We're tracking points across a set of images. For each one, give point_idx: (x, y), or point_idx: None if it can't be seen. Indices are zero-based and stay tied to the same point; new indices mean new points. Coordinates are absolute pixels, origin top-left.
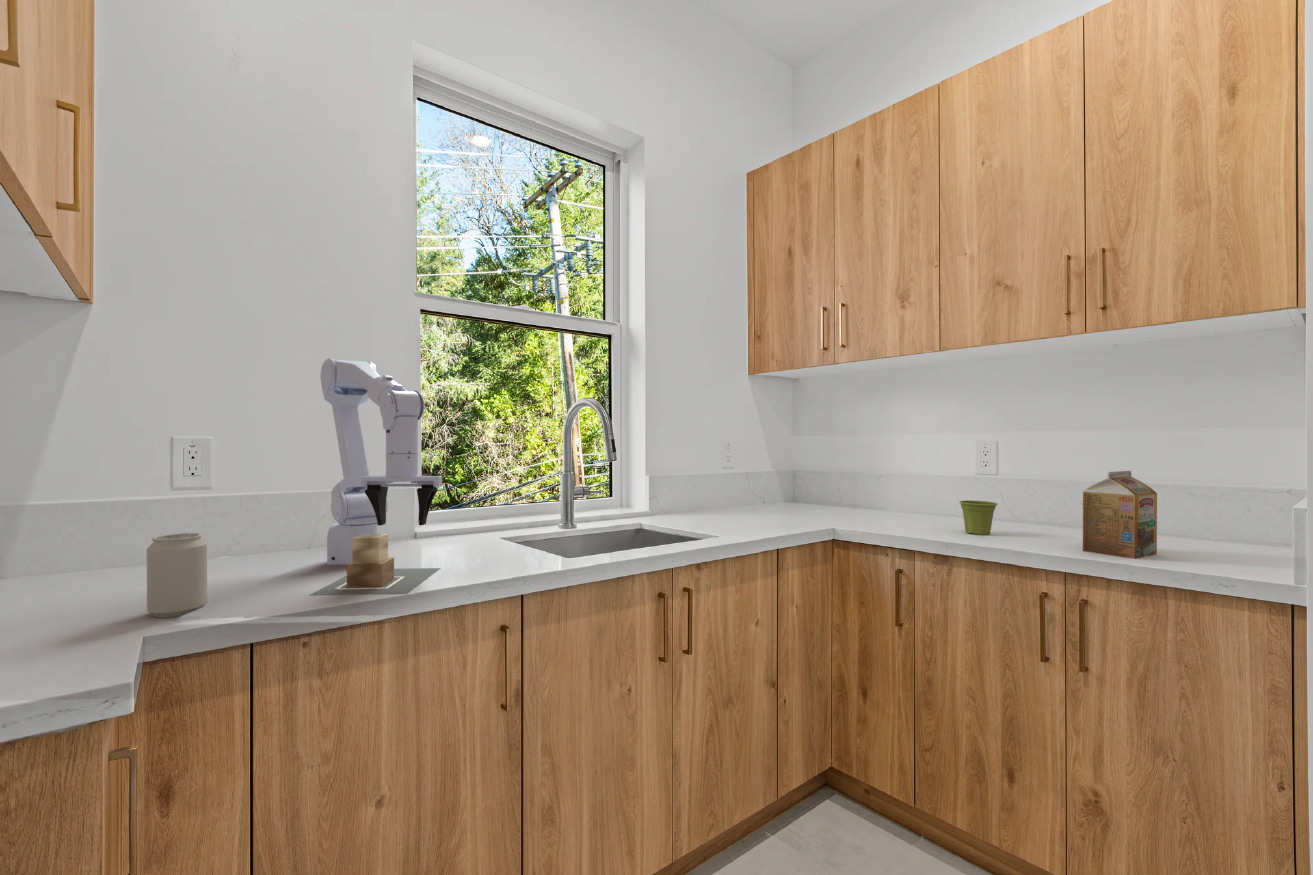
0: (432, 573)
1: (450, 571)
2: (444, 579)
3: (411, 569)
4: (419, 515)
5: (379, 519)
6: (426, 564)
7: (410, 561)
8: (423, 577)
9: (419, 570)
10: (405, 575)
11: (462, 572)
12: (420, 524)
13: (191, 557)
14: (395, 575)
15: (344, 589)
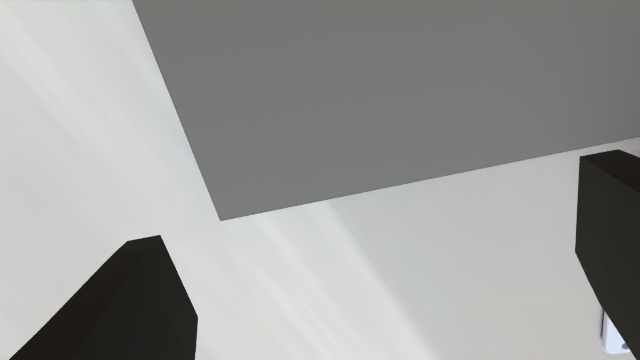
0: (183, 108)
1: (187, 229)
2: (95, 73)
3: (356, 171)
4: (101, 298)
5: (633, 175)
6: (384, 321)
7: (485, 353)
8: (166, 5)
9: (300, 158)
10: (307, 36)
11: (114, 221)
12: (140, 240)
13: None
14: (367, 26)
15: None
